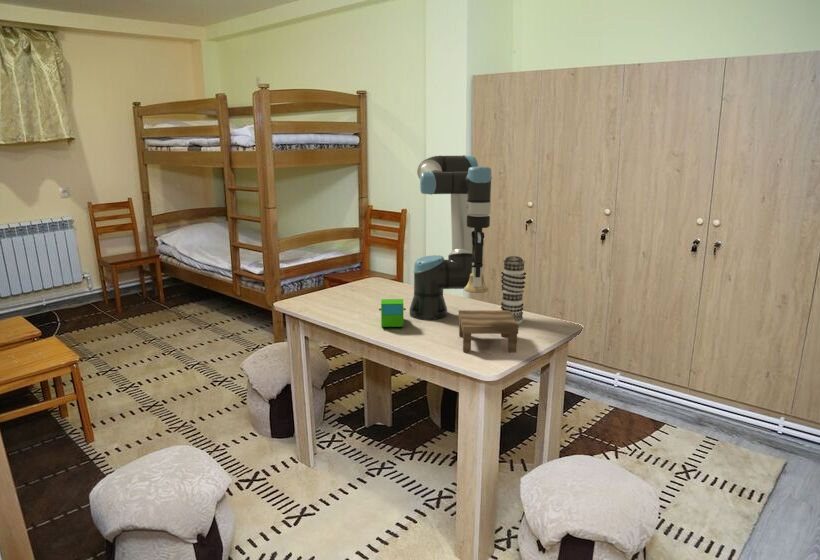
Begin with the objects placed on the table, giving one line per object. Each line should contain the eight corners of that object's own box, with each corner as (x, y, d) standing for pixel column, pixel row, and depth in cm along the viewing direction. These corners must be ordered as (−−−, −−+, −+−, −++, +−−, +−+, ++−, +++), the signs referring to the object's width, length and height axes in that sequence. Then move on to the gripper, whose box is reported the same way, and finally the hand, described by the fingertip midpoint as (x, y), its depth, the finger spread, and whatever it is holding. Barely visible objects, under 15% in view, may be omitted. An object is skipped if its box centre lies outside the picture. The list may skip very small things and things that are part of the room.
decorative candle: (522, 325, 214) (525, 260, 208) (497, 323, 216) (500, 259, 210) (524, 318, 222) (528, 255, 216) (501, 316, 225) (503, 254, 219)
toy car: (405, 318, 222) (405, 293, 220) (406, 329, 209) (406, 303, 207) (379, 318, 222) (379, 294, 219) (378, 329, 209) (378, 303, 206)
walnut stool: (458, 334, 204) (458, 310, 202) (508, 334, 204) (509, 310, 202) (462, 352, 186) (463, 326, 184) (517, 352, 186) (518, 326, 184)
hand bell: (491, 288, 192) (492, 242, 189) (484, 294, 185) (486, 246, 181) (467, 286, 195) (469, 240, 192) (460, 291, 188) (461, 244, 184)
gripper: (465, 211, 194) (463, 277, 199) (468, 218, 175) (466, 290, 181) (487, 211, 193) (485, 277, 199) (492, 218, 175) (490, 291, 180)
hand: (476, 283), depth 190 cm, fingers closed on hand bell, 6 cm apart
